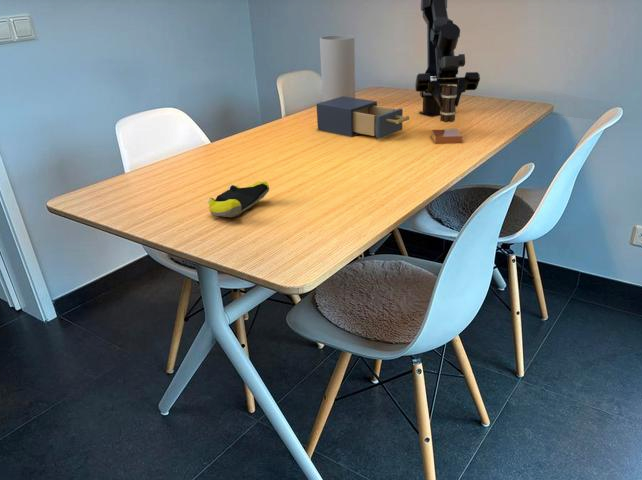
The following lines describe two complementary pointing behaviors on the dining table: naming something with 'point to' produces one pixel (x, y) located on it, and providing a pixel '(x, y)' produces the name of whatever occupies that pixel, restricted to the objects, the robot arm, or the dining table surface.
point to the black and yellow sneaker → (237, 199)
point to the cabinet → (340, 114)
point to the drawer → (378, 121)
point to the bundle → (448, 103)
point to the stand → (446, 136)
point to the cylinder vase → (337, 66)
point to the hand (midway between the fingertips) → (449, 106)
